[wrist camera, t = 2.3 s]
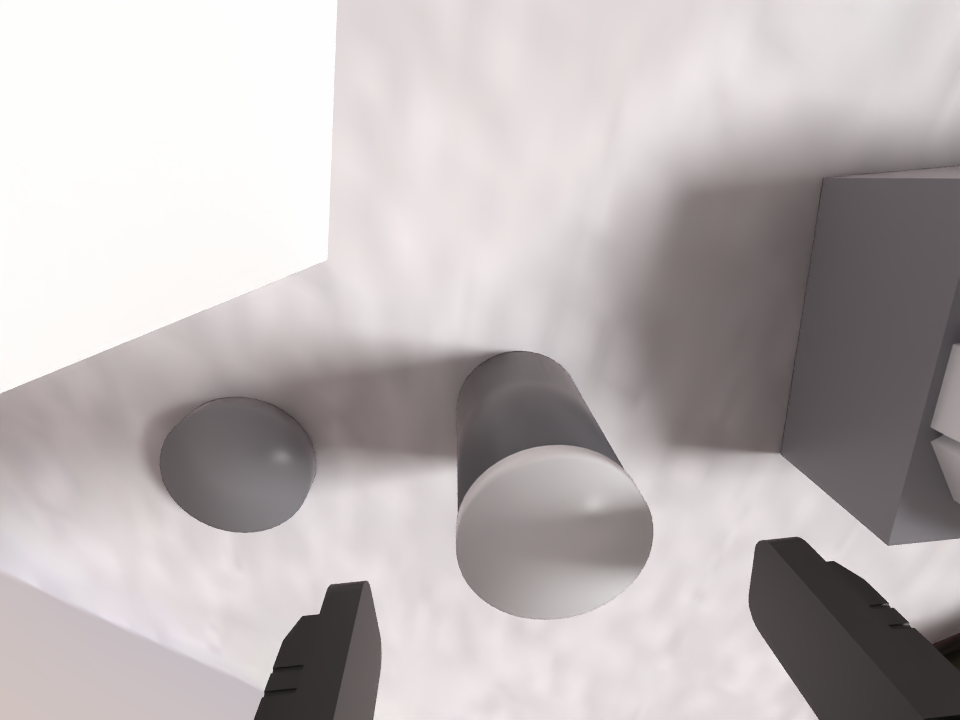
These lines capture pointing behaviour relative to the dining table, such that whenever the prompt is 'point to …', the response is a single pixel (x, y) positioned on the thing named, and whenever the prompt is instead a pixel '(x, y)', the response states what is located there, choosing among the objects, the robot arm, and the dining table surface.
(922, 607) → the dining table surface
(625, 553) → the lens
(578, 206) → the dining table surface
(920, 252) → the camera body
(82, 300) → the milk
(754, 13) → the dining table surface
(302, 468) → the grey round disc
